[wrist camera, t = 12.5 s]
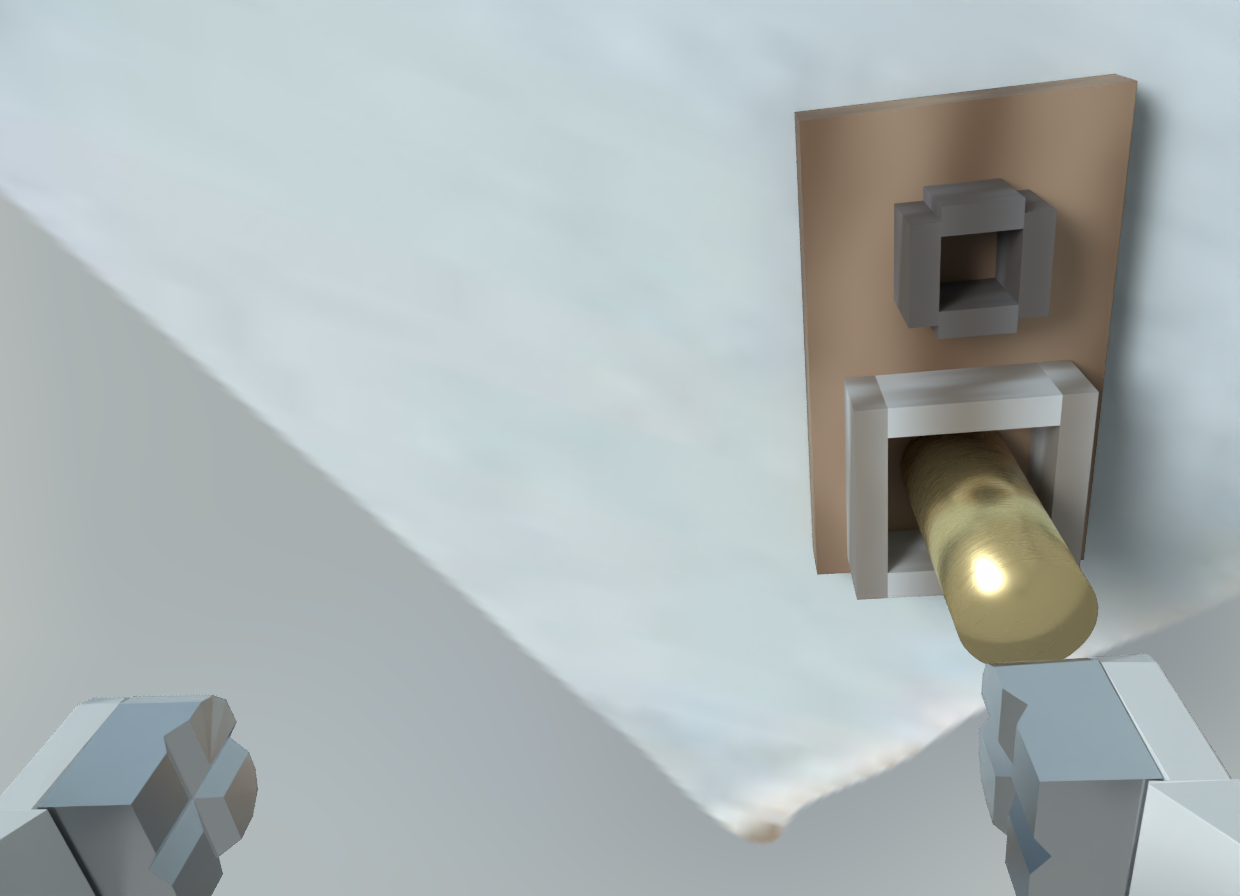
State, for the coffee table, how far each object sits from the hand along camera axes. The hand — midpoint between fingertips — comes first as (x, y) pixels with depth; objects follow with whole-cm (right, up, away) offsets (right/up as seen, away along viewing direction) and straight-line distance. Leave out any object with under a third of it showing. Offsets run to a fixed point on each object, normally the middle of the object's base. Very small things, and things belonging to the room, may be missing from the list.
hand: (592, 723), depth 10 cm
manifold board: (+13, +7, +28) cm, 32 cm away
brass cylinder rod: (+14, +2, +28) cm, 31 cm away
